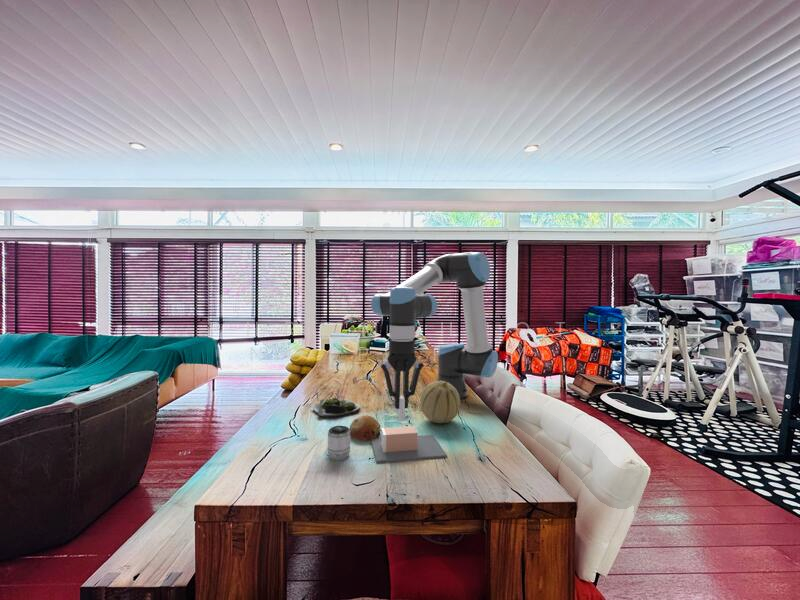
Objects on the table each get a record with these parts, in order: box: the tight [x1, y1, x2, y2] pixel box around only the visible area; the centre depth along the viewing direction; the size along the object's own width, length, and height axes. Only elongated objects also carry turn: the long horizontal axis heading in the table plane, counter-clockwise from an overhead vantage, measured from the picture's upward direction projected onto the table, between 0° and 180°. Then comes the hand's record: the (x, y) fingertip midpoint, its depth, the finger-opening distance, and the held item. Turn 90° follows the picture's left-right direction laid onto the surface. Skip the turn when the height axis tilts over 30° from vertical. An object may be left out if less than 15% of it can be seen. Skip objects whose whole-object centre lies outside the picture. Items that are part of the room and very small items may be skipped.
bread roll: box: [349, 414, 381, 442], centre depth 111 cm, size 10×10×8 cm
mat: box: [370, 434, 448, 464], centre depth 101 cm, size 20×14×1 cm
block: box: [380, 425, 419, 452], centre depth 100 cm, size 5×5×10 cm
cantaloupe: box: [419, 380, 461, 424], centre depth 122 cm, size 15×15×15 cm
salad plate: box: [312, 397, 361, 419], centre depth 134 cm, size 19×18×5 cm
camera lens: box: [327, 425, 351, 461], centre depth 96 cm, size 6×6×8 cm
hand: (401, 419), depth 100 cm, fingers closed
